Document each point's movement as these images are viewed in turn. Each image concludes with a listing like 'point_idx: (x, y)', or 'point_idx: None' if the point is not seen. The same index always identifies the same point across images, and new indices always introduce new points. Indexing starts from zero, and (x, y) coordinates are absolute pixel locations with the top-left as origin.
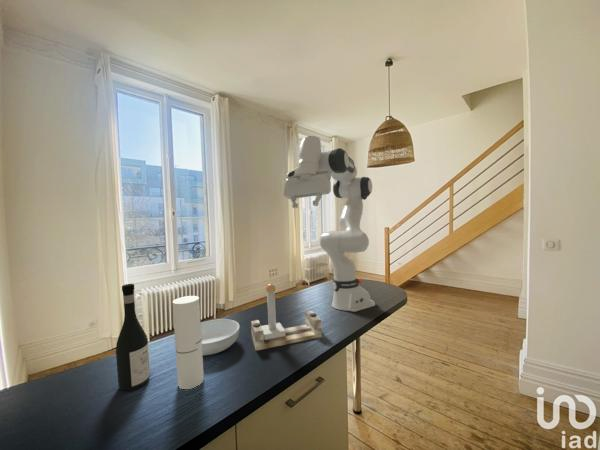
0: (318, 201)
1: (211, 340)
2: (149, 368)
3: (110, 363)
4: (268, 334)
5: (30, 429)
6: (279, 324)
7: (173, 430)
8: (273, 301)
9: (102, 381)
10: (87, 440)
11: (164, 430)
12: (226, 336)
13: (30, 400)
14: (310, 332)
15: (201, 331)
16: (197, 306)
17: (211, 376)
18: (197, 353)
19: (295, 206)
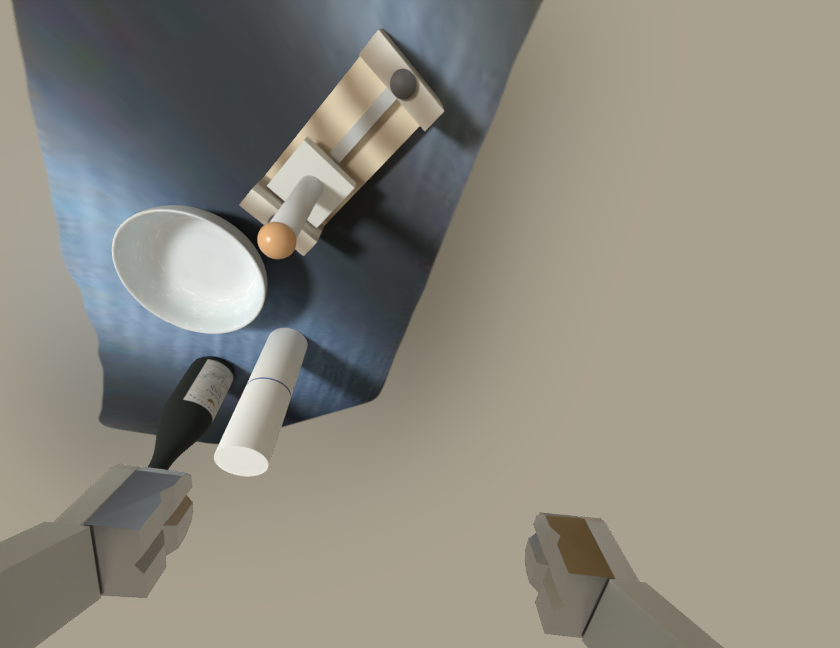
0: (641, 590)
1: (184, 245)
2: (215, 369)
3: (107, 355)
4: (323, 219)
5: (212, 434)
6: (312, 154)
7: (350, 394)
8: (303, 226)
9: (166, 380)
10: (282, 423)
11: (341, 397)
12: (201, 222)
13: (142, 421)
14: (406, 112)
15: (135, 247)
16: (269, 445)
17: (304, 324)
18: (295, 380)
19: (186, 526)
